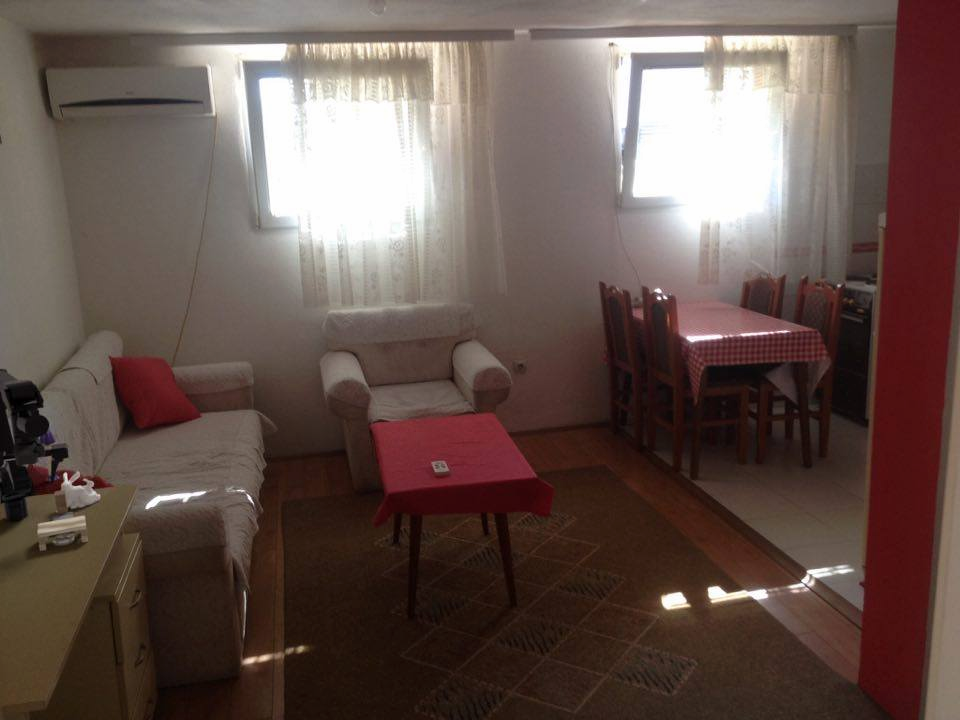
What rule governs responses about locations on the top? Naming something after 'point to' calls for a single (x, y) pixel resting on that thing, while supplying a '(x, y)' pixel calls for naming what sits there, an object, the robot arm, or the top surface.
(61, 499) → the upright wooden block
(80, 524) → the footstool
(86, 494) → the rabbit figurine
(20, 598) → the top surface
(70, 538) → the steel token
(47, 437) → the toy lamp
